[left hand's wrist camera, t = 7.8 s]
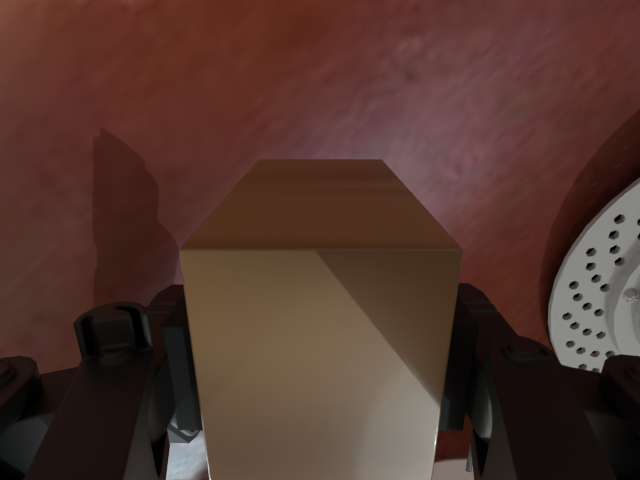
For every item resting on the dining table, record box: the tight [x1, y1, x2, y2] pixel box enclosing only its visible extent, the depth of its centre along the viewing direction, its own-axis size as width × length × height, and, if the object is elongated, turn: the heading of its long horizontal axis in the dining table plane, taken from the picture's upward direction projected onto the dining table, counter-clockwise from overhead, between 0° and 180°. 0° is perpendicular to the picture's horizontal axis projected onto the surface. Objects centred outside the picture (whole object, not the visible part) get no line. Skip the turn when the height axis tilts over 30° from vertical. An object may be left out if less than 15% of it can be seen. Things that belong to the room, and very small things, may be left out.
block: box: [179, 160, 463, 480], centre depth 12 cm, size 6×5×10 cm
